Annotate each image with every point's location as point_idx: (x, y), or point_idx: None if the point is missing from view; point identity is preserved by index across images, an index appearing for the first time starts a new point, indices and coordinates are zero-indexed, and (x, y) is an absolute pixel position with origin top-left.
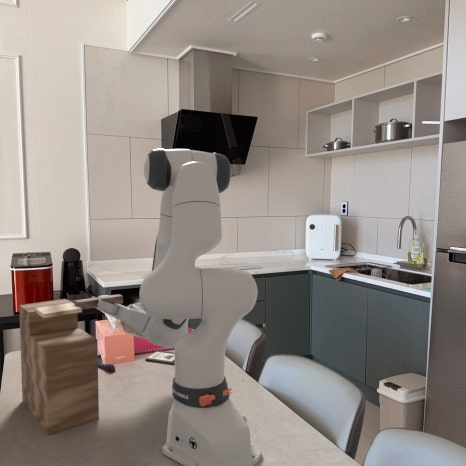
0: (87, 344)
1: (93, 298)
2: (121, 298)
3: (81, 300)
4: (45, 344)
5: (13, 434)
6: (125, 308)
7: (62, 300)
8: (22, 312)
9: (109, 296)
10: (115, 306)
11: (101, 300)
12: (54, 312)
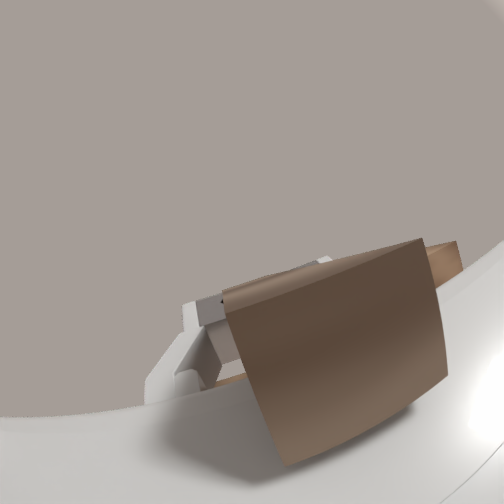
0: None
1: (267, 277)
2: (245, 363)
3: (250, 281)
4: (223, 383)
5: None
6: (16, 418)
7: (431, 249)
8: None
9: (285, 276)
10: (147, 403)
11: (183, 307)
12: None
